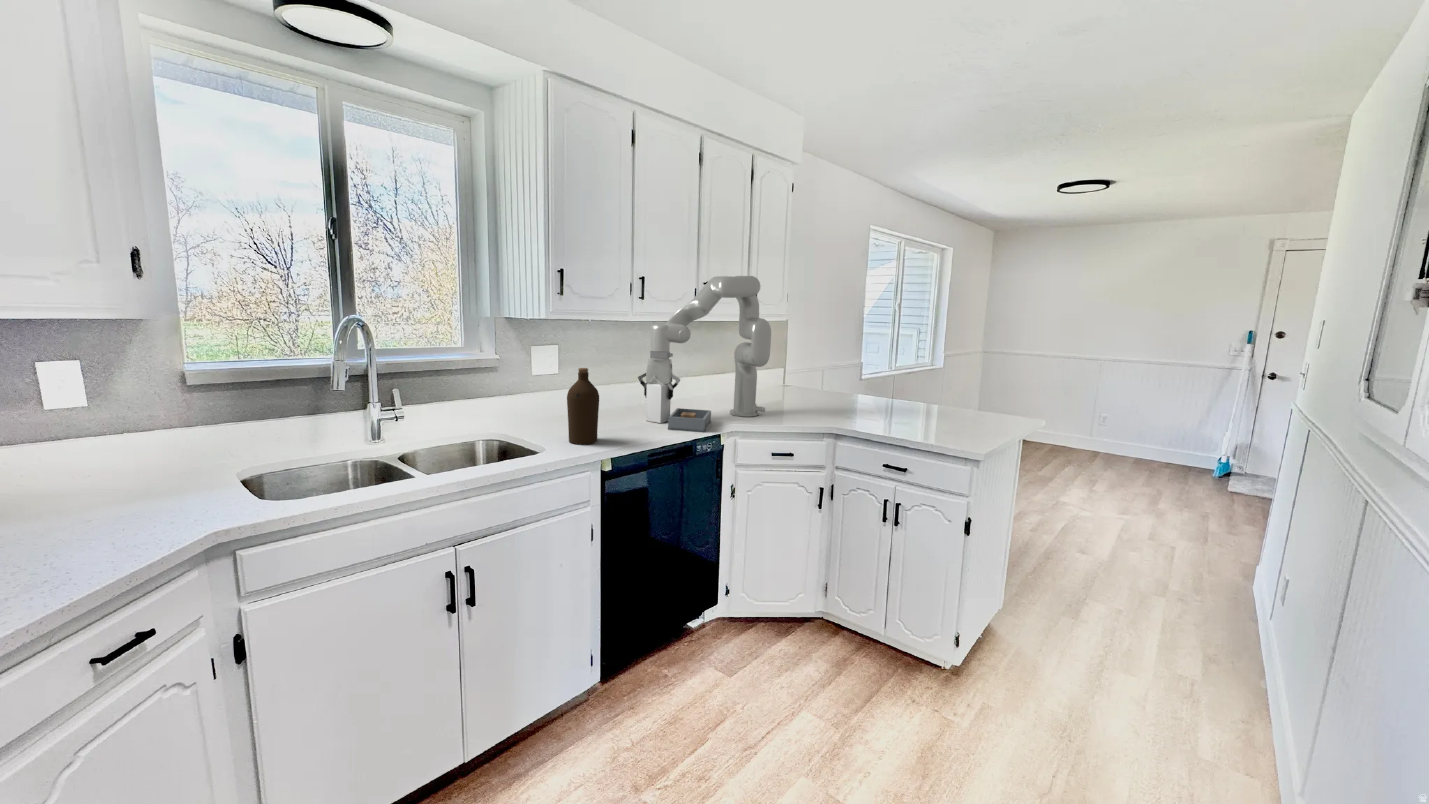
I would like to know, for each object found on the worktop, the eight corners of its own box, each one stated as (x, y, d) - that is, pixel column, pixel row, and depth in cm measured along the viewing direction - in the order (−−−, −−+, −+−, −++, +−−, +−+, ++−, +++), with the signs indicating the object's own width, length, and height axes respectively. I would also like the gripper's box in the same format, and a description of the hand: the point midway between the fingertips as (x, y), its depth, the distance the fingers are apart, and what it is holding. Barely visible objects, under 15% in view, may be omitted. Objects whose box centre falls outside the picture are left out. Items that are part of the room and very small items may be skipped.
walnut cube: (695, 425, 225) (695, 412, 224) (693, 428, 220) (693, 415, 219) (682, 424, 225) (683, 412, 224) (680, 427, 220) (680, 414, 220)
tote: (710, 422, 235) (711, 410, 234) (704, 432, 218) (704, 419, 217) (676, 420, 237) (677, 408, 236) (667, 429, 219) (668, 416, 218)
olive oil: (602, 444, 194) (602, 370, 189) (569, 446, 189) (569, 370, 185) (595, 436, 203) (595, 366, 199) (564, 438, 199) (564, 366, 195)
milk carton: (645, 421, 232) (646, 374, 229) (655, 418, 238) (656, 372, 235) (660, 423, 229) (661, 376, 226) (670, 420, 235) (671, 374, 232)
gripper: (682, 356, 232) (681, 398, 235) (640, 353, 234) (639, 395, 237) (679, 357, 224) (677, 401, 227) (636, 355, 226) (635, 398, 229)
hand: (658, 398), depth 232 cm, fingers closed on milk carton, 9 cm apart
